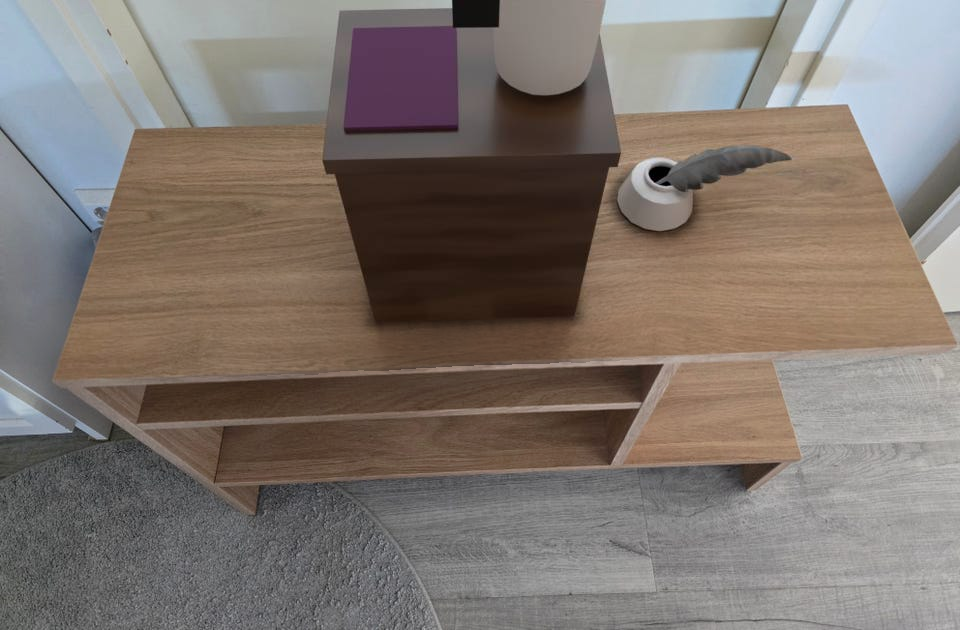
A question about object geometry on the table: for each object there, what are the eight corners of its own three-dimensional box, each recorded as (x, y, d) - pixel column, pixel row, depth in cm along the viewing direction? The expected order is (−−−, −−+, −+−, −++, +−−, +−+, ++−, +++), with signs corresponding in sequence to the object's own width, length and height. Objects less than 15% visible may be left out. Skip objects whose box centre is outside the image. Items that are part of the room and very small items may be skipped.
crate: (579, 320, 75) (621, 153, 52) (370, 326, 75) (322, 160, 52) (564, 193, 84) (594, 4, 61) (378, 198, 84) (339, 10, 61)
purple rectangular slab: (458, 128, 54) (458, 124, 53) (344, 131, 54) (343, 127, 53) (456, 29, 60) (456, 25, 59) (353, 31, 60) (353, 27, 59)
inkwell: (613, 173, 85) (628, 112, 77) (756, 174, 85) (787, 113, 77) (620, 232, 81) (637, 175, 72) (772, 233, 81) (806, 175, 72)
